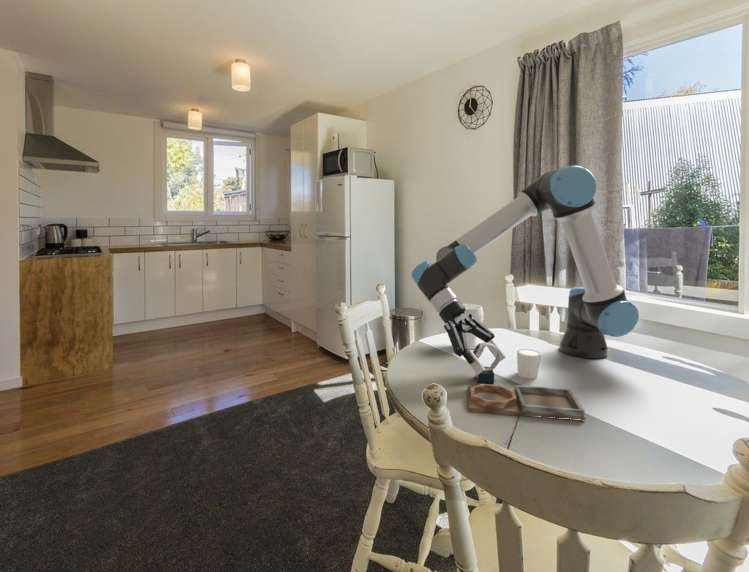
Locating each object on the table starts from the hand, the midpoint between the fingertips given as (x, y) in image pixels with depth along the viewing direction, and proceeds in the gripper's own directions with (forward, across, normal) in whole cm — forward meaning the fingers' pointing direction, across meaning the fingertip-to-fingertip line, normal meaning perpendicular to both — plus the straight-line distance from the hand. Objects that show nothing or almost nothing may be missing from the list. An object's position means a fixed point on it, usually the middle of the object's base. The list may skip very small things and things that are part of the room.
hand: (492, 365), depth 117 cm
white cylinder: (+8, -13, 0) cm, 15 cm away
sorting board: (+12, +8, +5) cm, 15 cm away
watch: (+2, 0, -5) cm, 6 cm away
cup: (-12, -26, -19) cm, 34 cm away
